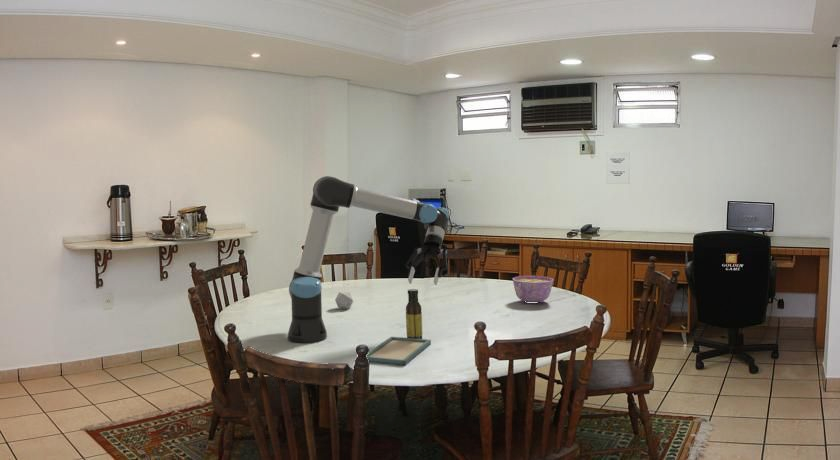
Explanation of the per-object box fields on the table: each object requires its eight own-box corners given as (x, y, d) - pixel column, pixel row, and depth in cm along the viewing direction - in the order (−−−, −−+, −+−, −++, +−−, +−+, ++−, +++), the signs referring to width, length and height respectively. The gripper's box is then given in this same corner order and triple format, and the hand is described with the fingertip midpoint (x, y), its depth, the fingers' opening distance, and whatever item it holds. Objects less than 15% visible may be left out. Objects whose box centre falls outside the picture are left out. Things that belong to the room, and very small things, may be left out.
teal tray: (391, 341, 250) (391, 336, 250) (430, 344, 245) (430, 339, 245) (361, 361, 224) (361, 356, 224) (404, 365, 219) (404, 360, 218)
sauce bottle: (422, 337, 255) (421, 287, 253) (423, 342, 248) (422, 291, 246) (405, 338, 254) (405, 288, 252) (406, 342, 248) (405, 291, 246)
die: (345, 312, 303) (356, 295, 305) (330, 303, 304) (341, 286, 306) (347, 315, 311) (358, 298, 313) (332, 306, 312) (343, 289, 314)
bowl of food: (508, 304, 314) (508, 281, 313) (516, 297, 333) (516, 274, 332) (550, 307, 308) (550, 283, 307) (555, 299, 326) (555, 276, 325)
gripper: (461, 245, 271) (451, 289, 258) (410, 243, 278) (398, 286, 265) (458, 234, 266) (447, 278, 252) (406, 232, 273) (393, 275, 260)
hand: (422, 282), depth 259 cm, fingers open, 10 cm apart
